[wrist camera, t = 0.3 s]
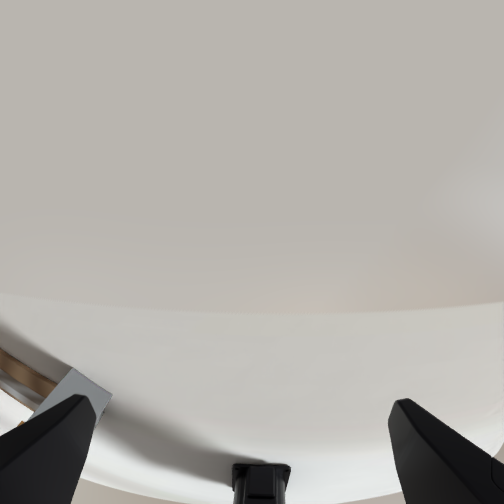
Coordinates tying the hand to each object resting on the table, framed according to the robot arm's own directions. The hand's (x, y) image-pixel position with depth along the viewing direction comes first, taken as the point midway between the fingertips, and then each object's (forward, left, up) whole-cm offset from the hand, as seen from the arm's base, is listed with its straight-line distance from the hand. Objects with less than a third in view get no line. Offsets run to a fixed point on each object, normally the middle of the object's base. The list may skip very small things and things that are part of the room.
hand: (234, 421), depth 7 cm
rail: (-17, +31, -15) cm, 39 cm away
